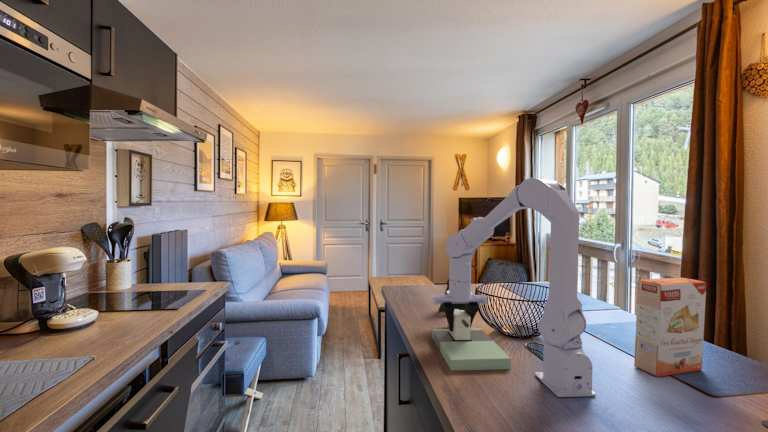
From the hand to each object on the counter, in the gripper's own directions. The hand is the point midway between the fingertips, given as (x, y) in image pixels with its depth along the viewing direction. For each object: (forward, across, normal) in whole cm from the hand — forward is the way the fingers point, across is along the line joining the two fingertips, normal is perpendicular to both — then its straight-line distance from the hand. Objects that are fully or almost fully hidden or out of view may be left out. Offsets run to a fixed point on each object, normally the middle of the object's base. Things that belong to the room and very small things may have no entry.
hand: (459, 330), depth 94 cm
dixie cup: (+4, -4, -14) cm, 15 cm away
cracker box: (+4, -45, +16) cm, 48 cm away
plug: (+1, 0, +1) cm, 2 cm away
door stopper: (+4, -7, -31) cm, 32 cm away
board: (+4, -1, +4) cm, 6 cm away
